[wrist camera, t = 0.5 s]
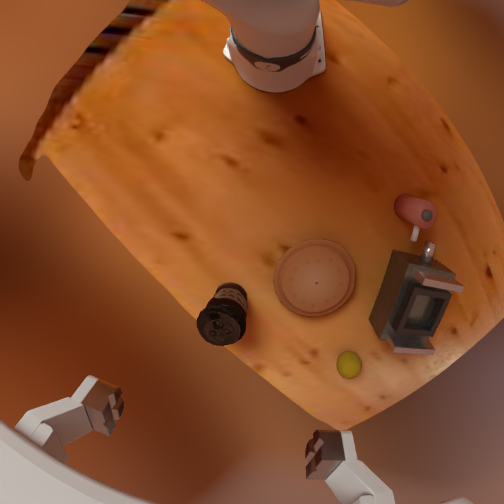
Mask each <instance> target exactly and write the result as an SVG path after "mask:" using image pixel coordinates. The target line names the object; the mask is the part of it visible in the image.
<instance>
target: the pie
mask: <svg viewBox="0 0 504 504" xmlns="http://www.w3.org/2000/svg"><path fill="white" fill-rule="evenodd" d="M273 283H274V288H275V293H276V294H277V296H278V298H279V300H280V302H281V303H283V304H284V305H285V306H286V307H287V308H288V309H290V310H292V311H293V312H295V313H297V314H299V315H304V316H321V315H324V314H328V313H331V312H333V311H334V310H336V309H337V308H339V307H340V306H341V305H342V304H343V303H344V302H345V301H346V300H347V299H348V298H349V297H350V295H351V293H352V291H353V290H354V285H355V265H354V263H353V261H352V258H351V256H350V255H349V254H348V252H347V251H346V250H345V249H344V248H343V247H342V246H340V245H339V244H337V243H335V242H334V241H329V240H324V239H309V240H306V241H304V242H301V243H299V244H296V245H295V246H293V247H291V248H290V249H288V250H287V251H286V252H285V253H284V254H283V256H282V257H281V258H280V259H279V261H278V264H277V267H276V269H275V274H274V280H273Z"/></svg>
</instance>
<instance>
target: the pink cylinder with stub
mask: <svg viewBox="0 0 504 504" xmlns="http://www.w3.org/2000/svg"><path fill="white" fill-rule="evenodd" d="M394 209H395V212H396V214H397V215H398V216H399V217H401V218H403V219H405V220H407V221H408V222H410V223H412V224H414V228H413V232H412V236H411V239H410V240H412V241H414V242H416V241H417V238H418V234H419V231H420V228H422V229H428V228H430V227H432V226H433V225H434V224H435V222H436V219H437V209H436V206H435V205H434V204H433V203H432V202H430V201H427V200H424V199H421V198H418V197H414V196H411V195H408V194H402V195H400V196H399V197H398V198H397V199H396V201H395V204H394Z"/></svg>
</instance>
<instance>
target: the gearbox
mask: <svg viewBox="0 0 504 504" xmlns="http://www.w3.org/2000/svg"><path fill="white" fill-rule="evenodd" d="M435 248H436V244H435V243H433V242H431V241H427V240H426V241H425V244H424V248H423V251H422V254H421V256H417V255H413V254H409V253H405V252H401V251H396V250H393V251H392V255H391V258H390V261H389V264H388V267H387V270H386V273H385V276H384V279H383V282H382V285H381V288H380V291H379V293H378V296H377V299H376V301H375V304H374V307H373V309H372V312H371V315H370V317H369V320H370V322H371V324H372V326H373V328H374V330H375V332H376V334H377V336H378V338H379V340H386V341H387V342H388V344H389V346H390V348H391V350H392V352H393V353H406V354H423V355H433V354H434V352H435V348H434V347H433V346H432V344H431V343H430V341H429V340H428V338H429V336H430V337H433V335H434V333H435V331H436V329H437V327H438V325H439V323H440V320H441V318H442V316H443V314H444V312H445V309H446V307H447V305H448V302H449V300H450V298H451V295H452V294H451V293H450V292H449V291H455V292H461V293H463V290H464V286H463V285H462V284H461V283H459V282H458V281H457V280H456V279H454V278H455V276H456V274H455V273H454V272H452V271H451V270H450V269H448V268H447V267H446V266H444V265H443V264H441V263H440V262H439V261H437V260H433V259H432V257H433V254H434V251H435Z"/></svg>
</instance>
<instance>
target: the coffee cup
mask: <svg viewBox="0 0 504 504" xmlns="http://www.w3.org/2000/svg"><path fill="white" fill-rule="evenodd" d="M246 301H247V297H246V292H245V290H244V289H243V288H242V287H241V286H240V285H238V284H235V283H223V284H222V285H219V286H218V288H217V290H216V294H215V295H214V297H213V298H212V299H211V300H210V301H209V302H208V304H207V306H206V308H205V309H203V311H201V312H200V313H199V316H198V318H197V328H198V330H199V333H200V334H201V336H202V337H203V338H204V339H205V340H206V341H207V342H209V343H211V344H213V345H220V346H224V345H228V344H233V343H235V342H237V341H238V340H239V339H241V338H242V336H243V335H244V333H245V330H246V315H247V303H246Z"/></svg>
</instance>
